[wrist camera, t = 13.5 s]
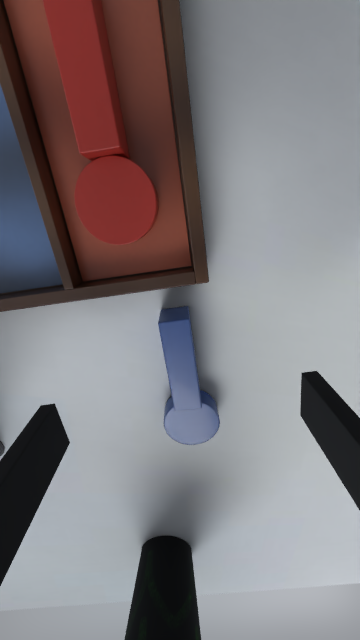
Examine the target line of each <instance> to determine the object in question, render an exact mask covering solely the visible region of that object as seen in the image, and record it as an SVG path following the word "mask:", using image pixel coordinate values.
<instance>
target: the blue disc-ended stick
mask: <svg viewBox="0 0 360 640" xmlns="http://www.w3.org/2000/svg"><path fill="white" fill-rule="evenodd" d="M158 325H159V330H160V336H161V341H162V346H163V352H164V357H165V362H166V368H167V373H168V378H169V384H170V389H171V394H172V396H171V397H170V398H169V399H168V401H167V403H166V405H165V413H164V428H165V430H166V432H167V434H168V435H169V436H170V437H171V438H172V439H173V440H175V441H177V442H179V443H182V444H187V445H195V444H200V443H203V442H206V441H208V440H209V439H211V438H212V437H213V436H214V435H215V434H216V432H217V431H218V428H219V424H220V420H219V415H218V410H217V405H216V402H215V400H214V399H213V398H212V397H211V396H210V395H209V394H208V393H206V392H204V391H202V390H200V385H199V378H198V371H197V364H196V357H195V349H194V342H193V335H192V328H191V321H190V314H189V307H188V306H184V307H177V308H169V309H162V310H161V313H160V317H159V322H158Z"/></svg>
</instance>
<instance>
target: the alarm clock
mask: <svg viewBox="0 0 360 640" xmlns="http://www.w3.org/2000/svg"><path fill="white" fill-rule="evenodd" d="M3 453H4V446H3V445H2V443H1V442H0V456H1V455H2V454H3Z"/></svg>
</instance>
